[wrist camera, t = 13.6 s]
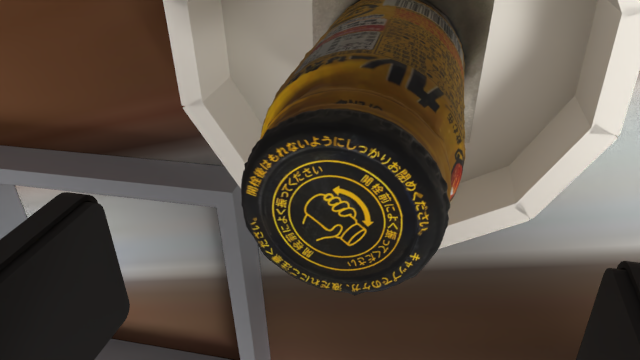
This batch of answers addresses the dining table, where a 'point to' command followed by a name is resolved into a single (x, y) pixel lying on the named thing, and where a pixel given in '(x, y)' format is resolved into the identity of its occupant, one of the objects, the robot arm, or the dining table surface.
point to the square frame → (159, 185)
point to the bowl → (491, 106)
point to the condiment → (367, 141)
